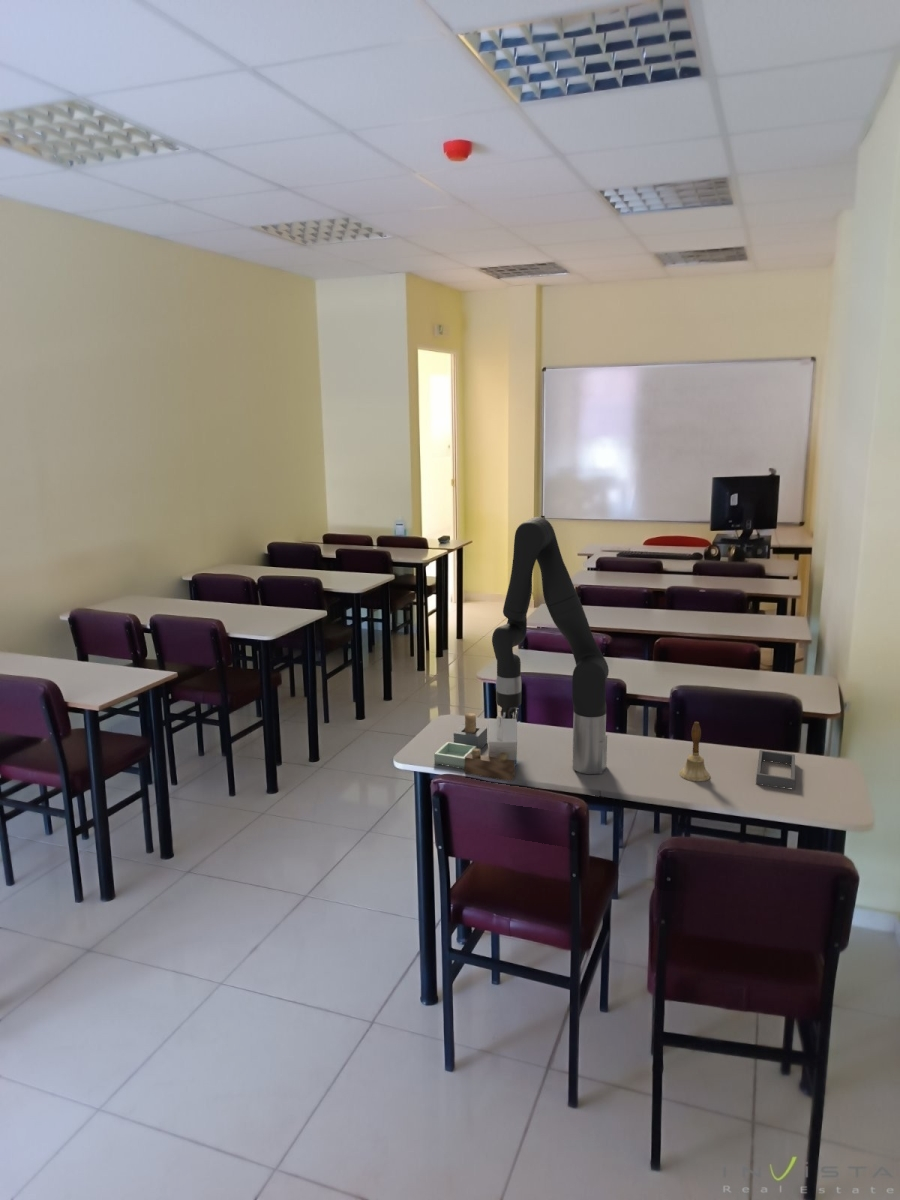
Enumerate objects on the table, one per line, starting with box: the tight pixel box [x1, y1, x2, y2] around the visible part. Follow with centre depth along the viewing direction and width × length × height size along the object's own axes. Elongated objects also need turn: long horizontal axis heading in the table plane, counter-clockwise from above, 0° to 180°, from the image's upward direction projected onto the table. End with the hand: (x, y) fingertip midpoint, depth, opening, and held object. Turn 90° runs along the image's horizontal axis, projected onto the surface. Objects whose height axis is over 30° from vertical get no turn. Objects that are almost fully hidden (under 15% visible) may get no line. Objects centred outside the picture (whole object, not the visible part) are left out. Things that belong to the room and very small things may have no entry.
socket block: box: [453, 723, 488, 750], centre depth 248 cm, size 8×8×5 cm
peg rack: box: [464, 749, 516, 782], centre depth 227 cm, size 14×3×7 cm, turn 67°
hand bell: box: [679, 721, 711, 782], centre depth 224 cm, size 8×8×16 cm
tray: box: [433, 741, 477, 770], centre depth 237 cm, size 10×10×3 cm
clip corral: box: [755, 749, 796, 790], centre depth 225 cm, size 10×18×3 cm, turn 157°
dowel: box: [464, 712, 477, 734], centre depth 247 cm, size 3×3×10 cm
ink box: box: [487, 715, 518, 766], centre depth 232 cm, size 9×8×13 cm
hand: (508, 743), depth 241 cm, fingers closed
